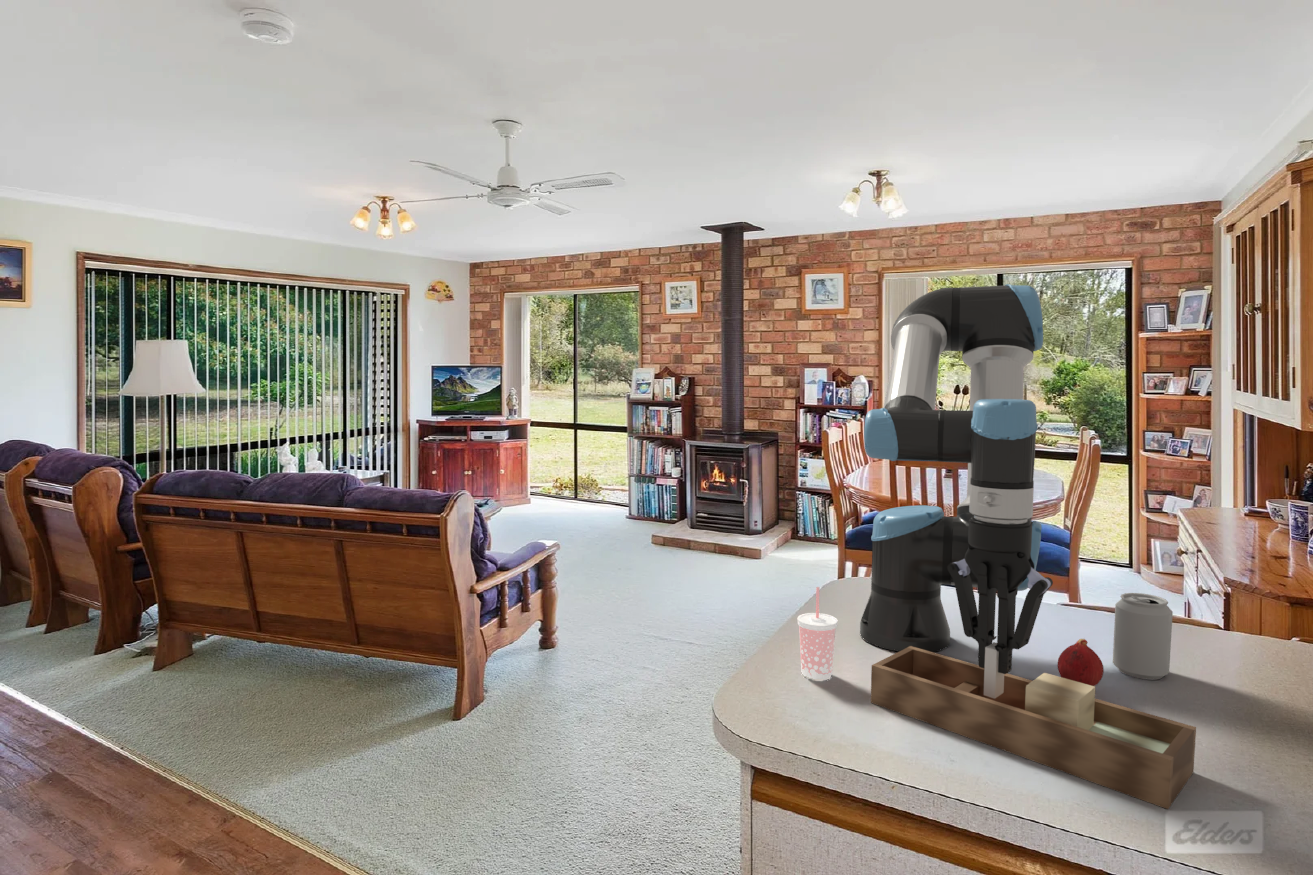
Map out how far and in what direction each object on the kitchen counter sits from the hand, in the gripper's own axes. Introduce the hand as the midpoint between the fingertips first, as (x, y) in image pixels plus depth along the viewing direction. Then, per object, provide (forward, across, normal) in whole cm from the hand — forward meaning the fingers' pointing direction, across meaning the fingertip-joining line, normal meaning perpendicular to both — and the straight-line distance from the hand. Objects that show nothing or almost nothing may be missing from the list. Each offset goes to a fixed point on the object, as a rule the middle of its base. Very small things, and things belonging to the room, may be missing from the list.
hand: (993, 693), depth 100 cm
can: (+5, +8, +35) cm, 36 cm away
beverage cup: (+5, -26, -3) cm, 26 cm away
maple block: (+2, +8, 0) cm, 8 cm away
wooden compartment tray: (+5, +3, 0) cm, 5 cm away
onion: (+5, +4, +20) cm, 21 cm away
